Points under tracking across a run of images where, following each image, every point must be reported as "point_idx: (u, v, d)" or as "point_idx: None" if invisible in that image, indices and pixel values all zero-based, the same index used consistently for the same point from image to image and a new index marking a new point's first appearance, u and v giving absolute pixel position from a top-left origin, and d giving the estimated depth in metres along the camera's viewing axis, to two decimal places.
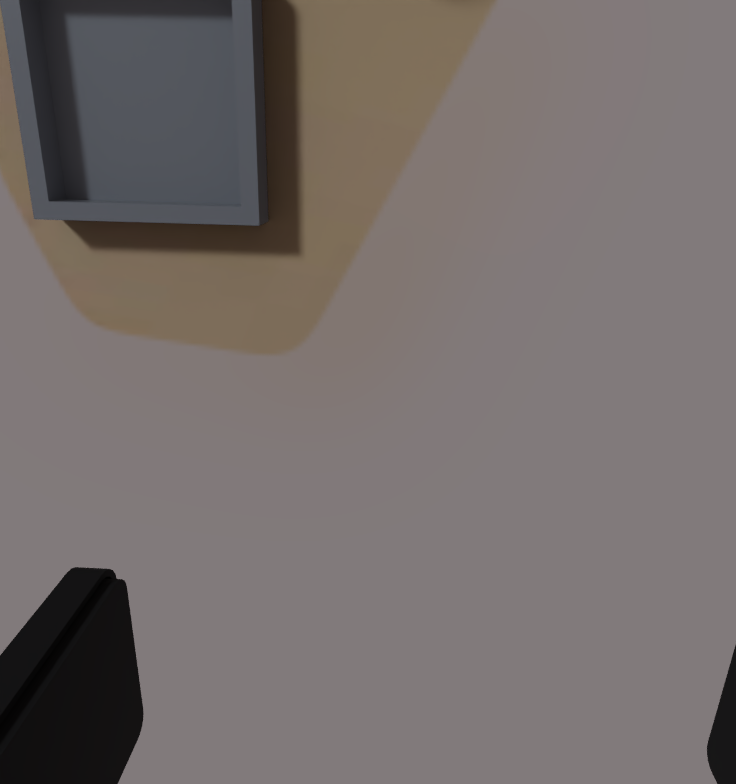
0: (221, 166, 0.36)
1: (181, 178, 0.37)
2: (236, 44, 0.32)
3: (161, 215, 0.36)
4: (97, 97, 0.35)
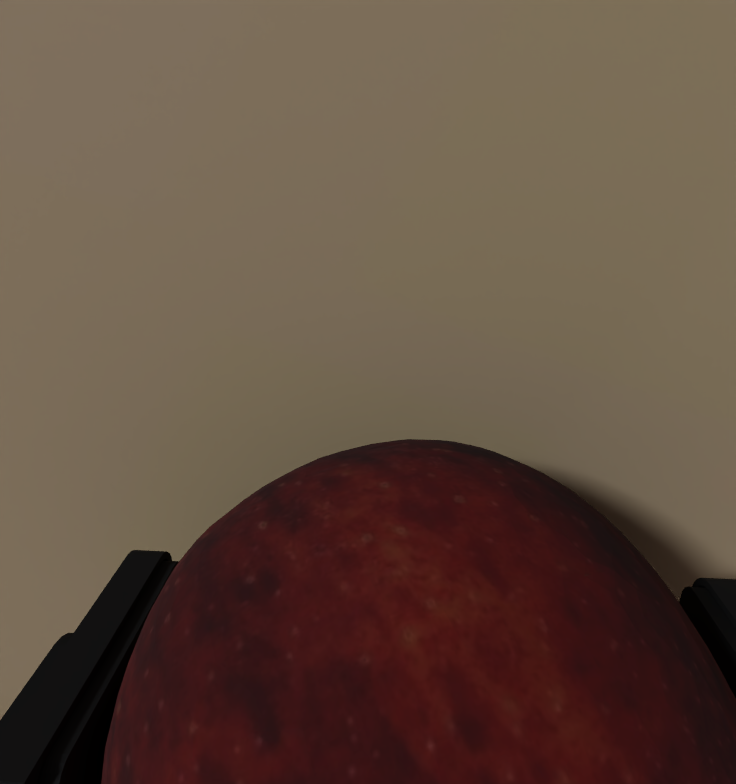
0: None
1: None
2: None
3: None
4: None
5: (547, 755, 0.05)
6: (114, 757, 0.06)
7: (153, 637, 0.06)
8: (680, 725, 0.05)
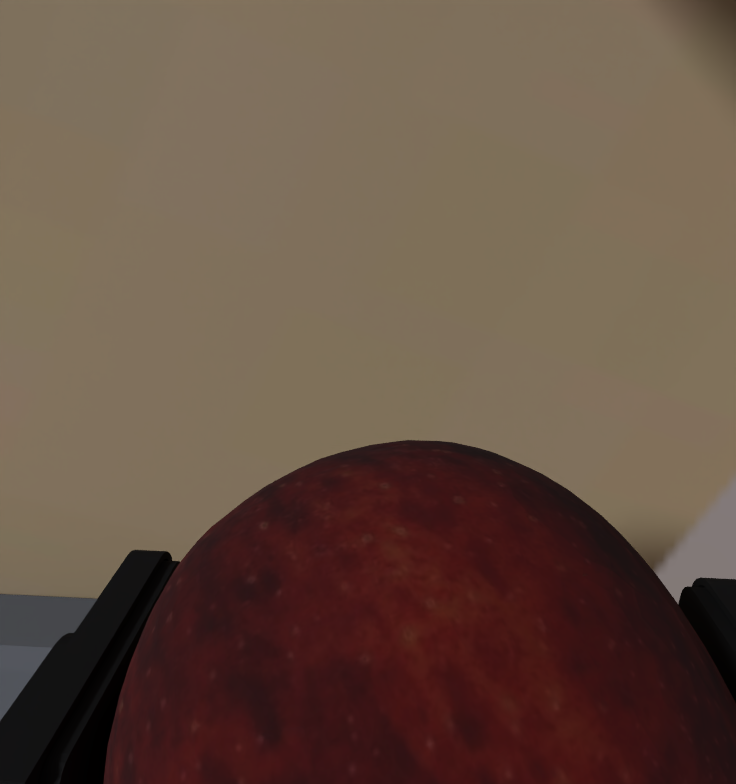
0: None
1: None
2: None
3: None
4: None
5: (544, 754, 0.05)
6: (116, 754, 0.06)
7: (155, 636, 0.06)
8: (678, 725, 0.05)
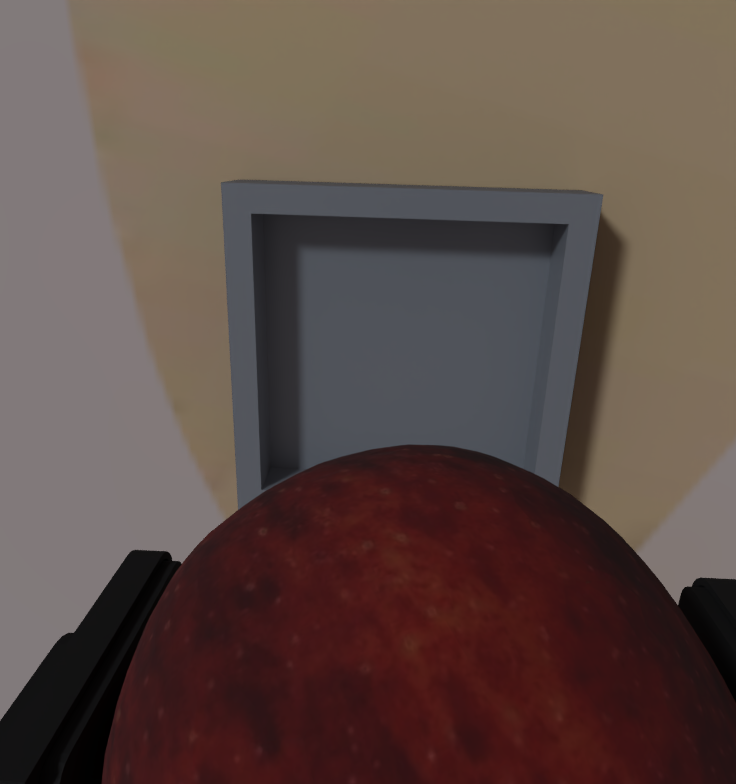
0: (492, 434, 0.27)
1: None
2: (561, 308, 0.23)
3: None
4: (330, 349, 0.26)
5: (548, 766, 0.05)
6: (113, 765, 0.06)
7: (153, 644, 0.06)
8: (682, 735, 0.05)
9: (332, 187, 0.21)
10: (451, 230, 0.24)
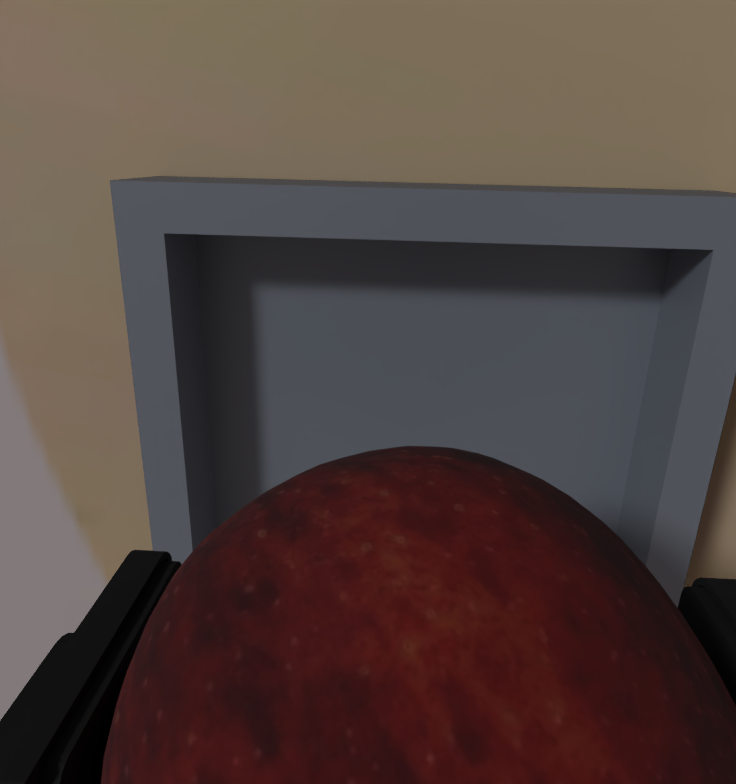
0: None
1: None
2: (690, 389, 0.13)
3: None
4: (308, 438, 0.17)
5: (547, 769, 0.05)
6: (112, 765, 0.06)
7: (152, 646, 0.06)
8: (682, 738, 0.05)
9: (302, 188, 0.12)
10: (500, 257, 0.15)
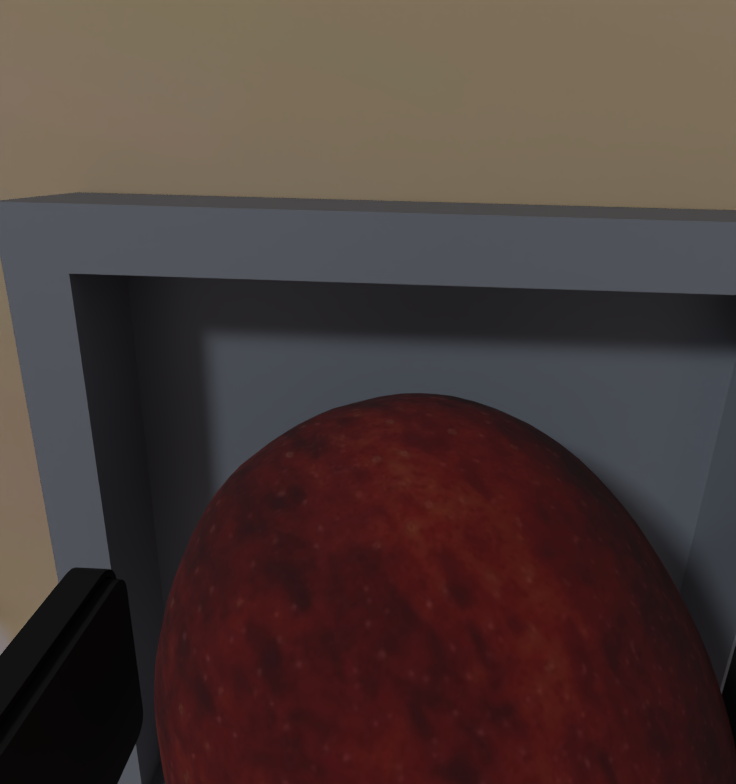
0: None
1: None
2: None
3: None
4: None
5: (519, 612, 0.06)
6: (170, 638, 0.07)
7: (200, 545, 0.08)
8: (628, 600, 0.07)
9: (257, 212, 0.09)
10: (527, 298, 0.11)
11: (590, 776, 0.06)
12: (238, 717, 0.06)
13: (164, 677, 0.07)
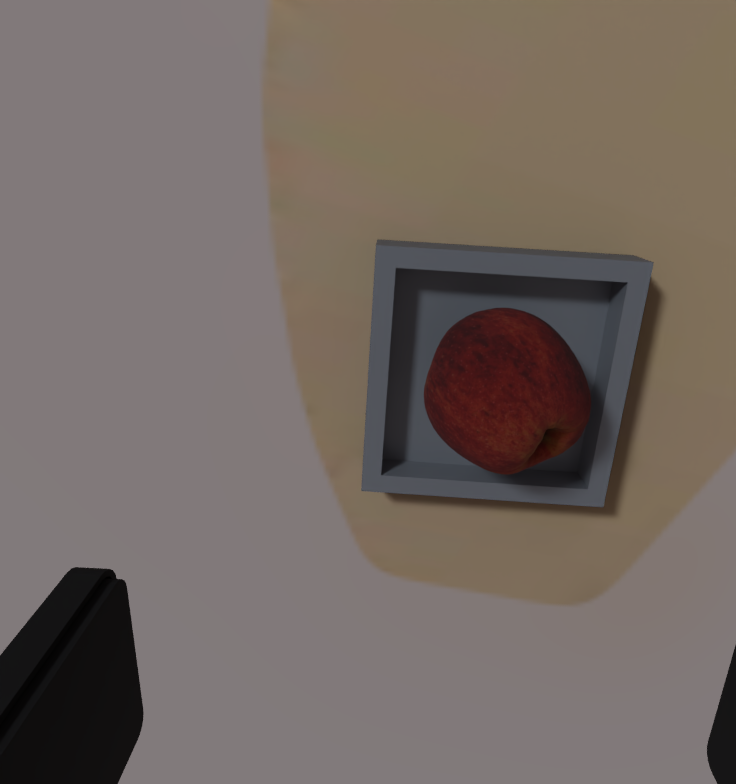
0: None
1: None
2: (619, 342, 0.31)
3: (500, 493, 0.34)
4: None
5: (537, 347, 0.27)
6: (445, 363, 0.28)
7: (450, 341, 0.28)
8: (562, 351, 0.27)
9: (457, 251, 0.30)
10: (536, 282, 0.32)
11: (551, 377, 0.26)
12: (472, 369, 0.27)
13: (443, 372, 0.28)
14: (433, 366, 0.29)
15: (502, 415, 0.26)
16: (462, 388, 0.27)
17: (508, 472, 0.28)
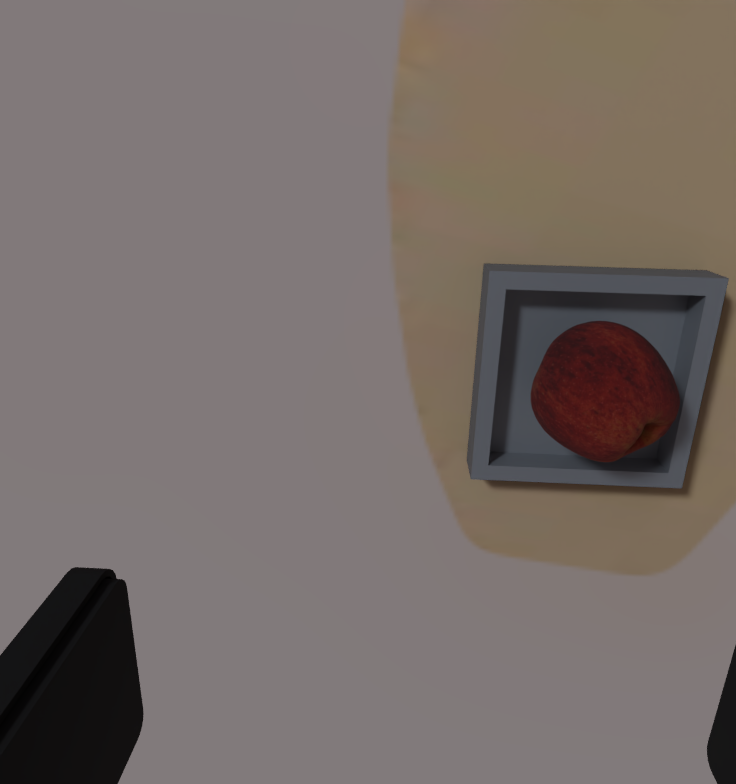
0: None
1: None
2: (697, 347, 0.36)
3: (591, 478, 0.39)
4: (534, 371, 0.39)
5: (636, 355, 0.32)
6: (555, 370, 0.33)
7: (558, 351, 0.33)
8: (656, 357, 0.33)
9: (559, 274, 0.35)
10: (622, 296, 0.37)
11: (650, 381, 0.31)
12: (582, 375, 0.32)
13: (554, 378, 0.33)
14: (543, 372, 0.34)
15: (610, 413, 0.31)
16: (573, 391, 0.32)
17: (609, 460, 0.34)
